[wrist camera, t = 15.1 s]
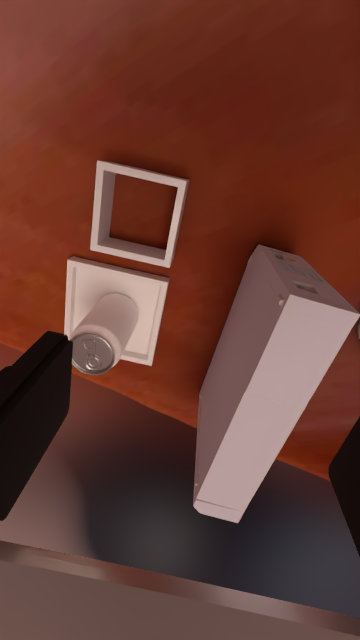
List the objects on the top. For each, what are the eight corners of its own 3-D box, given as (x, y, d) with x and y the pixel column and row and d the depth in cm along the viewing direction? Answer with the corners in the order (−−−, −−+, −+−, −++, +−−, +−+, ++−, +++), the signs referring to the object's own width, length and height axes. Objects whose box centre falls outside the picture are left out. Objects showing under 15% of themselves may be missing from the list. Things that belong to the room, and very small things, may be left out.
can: (101, 332, 48) (70, 378, 38) (93, 292, 46) (56, 330, 35) (142, 331, 48) (122, 377, 37) (136, 291, 45) (112, 329, 34)
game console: (196, 395, 53) (188, 510, 35) (254, 239, 41) (286, 293, 23) (229, 404, 53) (237, 523, 35) (296, 251, 41) (360, 314, 23)
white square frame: (110, 161, 38) (97, 160, 34) (189, 179, 38) (186, 181, 34) (103, 241, 43) (90, 249, 38) (173, 257, 43) (169, 267, 38)
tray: (73, 256, 44) (67, 259, 42) (169, 278, 44) (168, 282, 42) (68, 339, 50) (63, 346, 48) (153, 358, 50) (151, 365, 49)
